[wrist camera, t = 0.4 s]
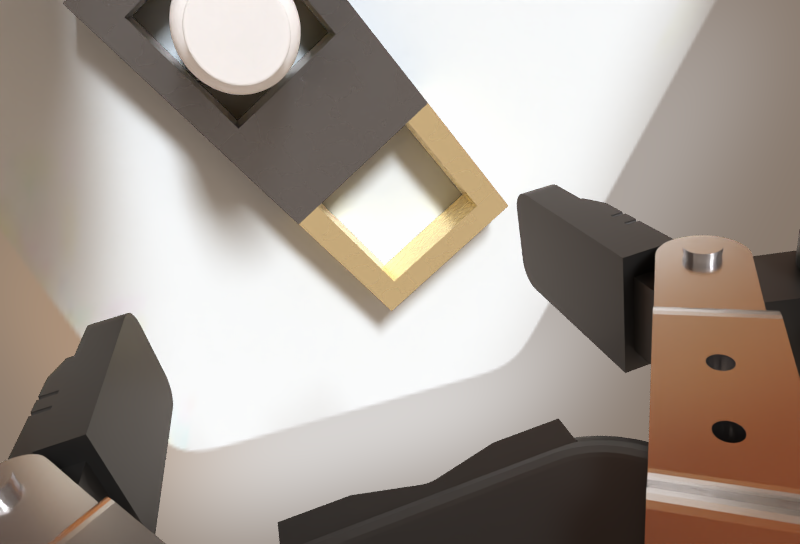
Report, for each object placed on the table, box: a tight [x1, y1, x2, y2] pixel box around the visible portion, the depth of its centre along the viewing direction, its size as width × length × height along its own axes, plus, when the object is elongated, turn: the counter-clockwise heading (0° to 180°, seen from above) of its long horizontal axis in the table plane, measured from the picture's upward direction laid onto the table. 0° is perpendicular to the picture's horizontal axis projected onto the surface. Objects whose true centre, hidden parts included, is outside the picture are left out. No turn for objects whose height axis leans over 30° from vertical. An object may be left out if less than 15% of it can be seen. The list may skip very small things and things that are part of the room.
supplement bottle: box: [169, 0, 301, 95], centre depth 26 cm, size 5×5×10 cm
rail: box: [63, 0, 508, 311], centre depth 32 cm, size 10×24×2 cm, turn 40°
